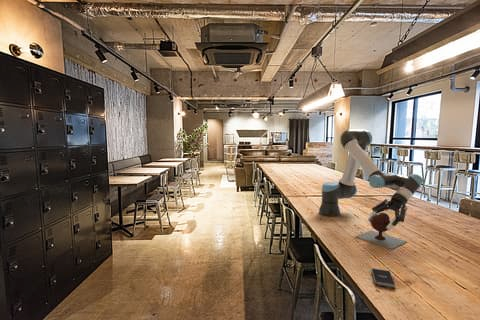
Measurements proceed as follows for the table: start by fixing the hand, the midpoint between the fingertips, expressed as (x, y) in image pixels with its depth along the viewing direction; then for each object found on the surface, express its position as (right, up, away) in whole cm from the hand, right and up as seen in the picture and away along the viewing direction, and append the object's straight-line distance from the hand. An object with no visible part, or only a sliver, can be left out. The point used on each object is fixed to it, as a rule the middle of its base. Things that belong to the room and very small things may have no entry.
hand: (378, 225), depth 142 cm
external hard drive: (-19, -13, -39) cm, 45 cm away
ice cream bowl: (+2, -8, +2) cm, 9 cm away
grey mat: (+2, -9, +1) cm, 9 cm away
